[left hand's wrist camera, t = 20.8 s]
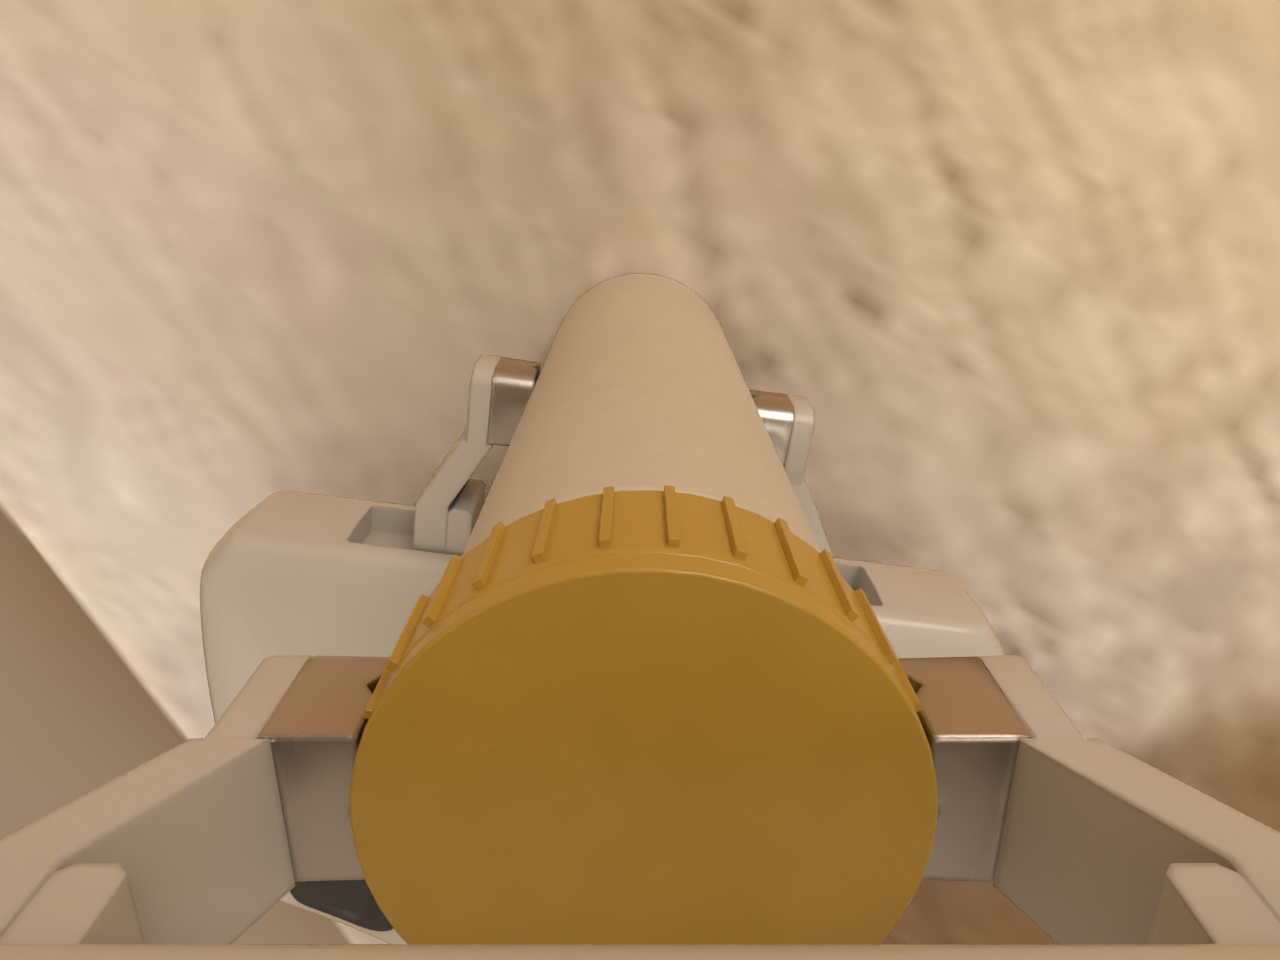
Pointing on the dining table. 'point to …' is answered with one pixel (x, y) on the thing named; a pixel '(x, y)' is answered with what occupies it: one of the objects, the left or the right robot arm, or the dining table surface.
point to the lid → (643, 740)
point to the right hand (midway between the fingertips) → (643, 380)
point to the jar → (640, 412)
